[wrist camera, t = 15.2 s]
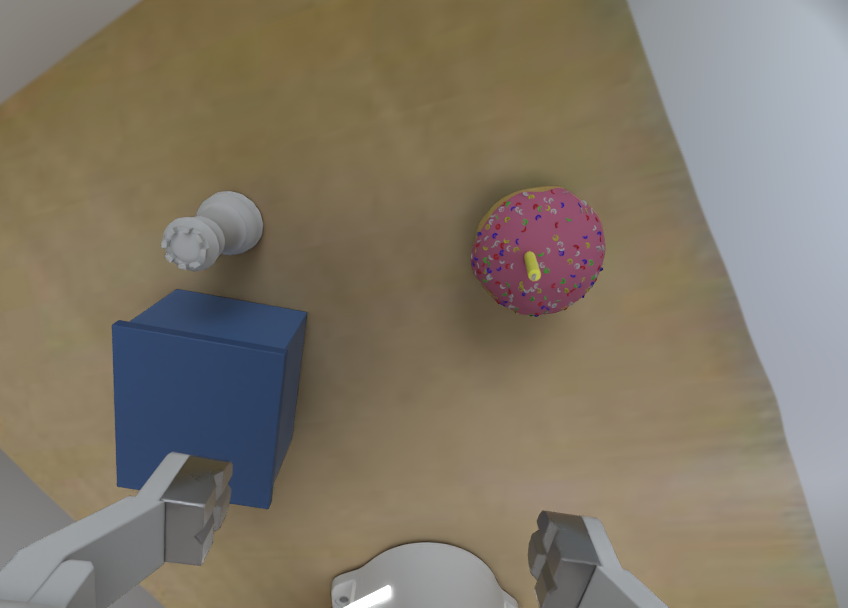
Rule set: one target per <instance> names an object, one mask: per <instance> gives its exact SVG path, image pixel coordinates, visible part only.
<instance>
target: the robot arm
mask: <svg viewBox="0 0 848 608" xmlns="http://www.w3.org/2000/svg"><path fill="white" fill-rule="evenodd" d="M232 470H233V464H232V463H231V462H229V461H224V460H218V459H212V458H207V457H201V456H196V455H188V454H182V453H177V452H171V453H169V454H168V455H167V456H166V457H165V458H164V460H163V461H162V462H161V464H160V465H159V466H158V467H157V469H156V470H155V471H154V473H153V474H152V475H151V477H150V478H149V479H148V480H147V482H146V483H145V484H144V486H143V487H142V488H141V490H140V491H139V492H138V494H137V495H136V496H135V497H131V496H128V497H126V498H124V499H122V500H120V501H118V502H116V503H114V504H112V505H110V506H108V507H106V508H104V509H102V510H99V511H97V512H95V513H93V514H91V515H89V516H87V517H85V518H83V519H81V520H79V521H77V522H75V523H73V524H71V525H69V526H67V527H65V528H63V529H61V530H59V531H57V532H55V533H53V534H50V535H49V536H46V537H45V538H42V539H40V540H38V541H36V542H34V543H32V544H30V545H28V546H26V547H24V548H22V549H20V550H19V551H18V552H17V553H16V554H15V555H14V556H13V557H12V558H11V559H10V560H9V562H8V563H7V564H6V565H5V566H4V567H3V568H2V569H1V570H0V608H107V607H108V606H110V605H111V604H112V603H114V602H115V601H116V600H117V599H119V598H120V597H121V596H123V595H124V594H125V593H127V592H128V591H129V590H131V589H132V588H133V587H134V586H136V585H137V584H138V583H140V582H141V581H142V580H144V579H145V578H146V577H148V576H149V575H150V574H151V573H153V572H154V571H155V570H157V569H158V568H159V567H161V566H162V565H163V564H164V562H171V563H180V564H189V565H198V566H201V565H202V563H203V561H204V559H205V557H206V555H207V553H208V551H209V549H210V547H211V545H212V543H213V534H214V531H216V530H218V529H219V528H220V527H221V525H222V523H223V521H224V519H225V516H226V513H227V510H228V507H229V502H230V497H231V488H230V486H229V485H228V482H229V480H230V478H231V476H232ZM537 525H538V528H539V530H538V531H536V532H535V533H533V534H532V536H531V539H530V542H529V548H528V564H529V568H530V573H531V574H532V575H533V576H534V577H535V579H536V580H537V583H536V585H535V588H534V590H535V594H536V598H537V602H538V606H539V608H669V607H668V606H667V605H666V604H665V603H663V602H662V601H661V600H660V599H659V598H658V597H657V596H656V595H655V594H654V593H652V592H651V591H650V590H649V589H648V588H647V587H646V586H645V585H644V584H643V583H641V582H640V581H639V580H638V579H637V578H636V577H635V576H634V575H633V574H632V573H630V572H629V571H628V570H623V569H622V567H621V565H620V563H619V560H618V558H617V556H616V554H615V552H614V550H613V547H612V545H611V543H610V541H609V539H608V536H607V534H606V532H605V530H604V528H603V525H602V523H601V521H600V520H599V519H598V518H594V517H587V516H580V515H579V516H577V515H571V514H564V513H557V512H550V511H542V512H541V513H540V514H539V517H538V519H537ZM331 596H332V607H333V608H519V605H518V603H517V601H516V600H515V599H514V598H513V597H511V596H510V595H509V594H507V593H506V592H505V591H503V590H502V589H501V587H500V586H499V584H498V582H497V580H496V578H495V576H494V574H493V573H492V571H491V570H490V568H489V567H488V566H487V565H486V564H485V563H484V562H483V561H482V560H480V559H479V558H478V557H476V556H475V555H473V554H471V553H470V552H468V551H465V550H463V549H461V548H458V547H455V546H451V545H447V544H441V543H431V542H422V543H412V544H406V545H402V546H398V547H395V548H392V549H390V550H387V551H385V552H383V553H381V554H380V555H378V556H376V557H375V558H374V559H372V560H371V561H370V562H368V563H367V564H366V565H365V566H363V567H361V568H360V569H358V570H354V571H351V572H347V573H344V574H342V575H339V576H337V577H336V578H334V580H333V581H332V589H331Z"/></svg>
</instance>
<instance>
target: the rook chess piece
mask: <svg viewBox="0 0 848 608" xmlns="http://www.w3.org/2000/svg"><path fill="white" fill-rule="evenodd" d="M262 229H263V222H262V218H261V214H260V212H259V210H258V209H257V207H256V206H255V205H254V203H253V202H252V201H251V200H249V199H248V198H246V197H245V196H244V195H242V194H239V193H235V192H231V191H226V192H219V193H216V194H214V195H213V196H211V197H209V198H208V199H206V200H205V201H203V202H202V204H201V206H200V207H199V209H198V211H197V213H196V217H184V218H177V219H176V220H174V221H173V222H171V223H170V224H169V225H168V226H167V228H166V230H165V231H164V237H163V239H162V245H161V248H165V250H166V253H167V255H165V258H166V259H167V260H168V261H169V263H171V262H172V261H173V262H174V263H175V264H177V265H178V268H180V269H184V270H191V271H200V270H205V269H207V268H208V267H210V266H212V265H213V264H214V262H215V261H216V259H217V257H218V256H220V254H225V255H235V254H241V253H243V252H245V251H247V250H249V249H251V248H252V247H254V246H255V245H256V244H257V242H258V241H259V239H260V238H261V236H262Z"/></svg>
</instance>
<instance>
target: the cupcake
mask: <svg viewBox="0 0 848 608" xmlns="http://www.w3.org/2000/svg"><path fill="white" fill-rule="evenodd" d="M604 255H605V239H604V234H603V226H602V222H601V219H600V217H599V215H598V214H597V212H596V211H595V210H594V209H593V208H591V207H590V206H589V205H587V204H586V201H582V200H580V199H579V198H578V197H576V196H575V195H573V194H572V193H570V192H569V191H567V190H565V189H564V188H561V187H558V186H548V187H535V188H529V189H524V190H520V191H517V192H514V193H512V194H510V195H508V196H506V197H504V198H502V199H501V200H499V201H498V202H496V203H495V204H494V205H493V206H492V207H491V209H490V210H489V211H488V212H487V214H486V215H485V216H484V217H483V218H482V219H481V221H480V223H479V225H478V228H477V231H476V235H475V240H474V245H473V248H472V251H471V265H472V270H473V273H474V275H475V276H476V278H477V279H478V280H479V281H480V282H481V284H482V285H483V287H484V288H485V290H486V291H487V292H488V293H489V294H490V295H491V296H492V297H493V299H495V301H496V302H497V303H498V304H501V305H503V306H505V307H507V308H508V309H511V310H513V311H514V312H515V313H516V312H517V313H519V314H523V315H529V316H533V315H534V316H535V317H537V316H539V315H542V314H550V313H556V312H559V311H561V310H563V309H564V310H566V309H567V308H568V307H569V306H570V305H572V304H573V303H575V302H576V301H578V300H579V299H580V298H581V297H582V298H584V295H585V294H586V293H587V292H588V291H589V289H590V288H592V287H593V284H594V282H596V280H597V276H598V274H599V272H600V271H602V270H603V268H601V266H602V263H603V259H604ZM536 315H537V316H536Z"/></svg>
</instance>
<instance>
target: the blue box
mask: <svg viewBox="0 0 848 608" xmlns="http://www.w3.org/2000/svg"><path fill="white" fill-rule="evenodd" d="M306 319H307V312H303V311H297V310H292V309H286V308H280V307H275V306H269V305H264V304H258V303H253V302H247V301H241V300H236V299H230V298H225V297H219V296H213V295H208V294H202V293H197V292H191V291H186V290H180V289H176V290H175V291H173V292H172V293H170V294H169V295H167V296H166V297H164V298H163V299H161V300H160V301H159V302H157V303H156V304H154V305H153V306H151V307H150V308H148V309H147V310H145V311H144V312H143V313H141V314H140V315H138V316H137V317H135V318H134V319H132V320H131V321H130V322H127V321H122V320H118V321H117V322H115V323H114V324H112V343H113V374H114V405H115V436H116V466H117V487H123V488H129V489H136V490H141V488H142V487H143V486H144V484H145V483H146V482H147V480H148V479H149V478H150V477H151V475H152V474H153V473H154V471H155V470H156V469H157V467H158V466H159V465H160V464H161V462H162V461H163V460H164V458H165V457H166V456H167V455H168V454H169V453H171V452H177V453H182V454H188V455H196V456H201V457H207V458H212V459H218V460H224V461H229V462H231V463H232V464H233V470H232V476H231V478H230V480H229V482H228V485H229V486H230V488H231V497H230V502H229V503H230V504H237V505H243V506H250V507H257V508H263V509H269V507H270V505H271V502H272V494H273V485H274V482H275V479H276V477H277V474H278V472H279V469H280V467H281V464H282V462H283V460H284V457H285V455H286V452H287V450H288V447H289V445H290V442H291V440H292V435H293V427H294V419H295V410H296V402H297V394H298V386H299V377H300V369H301V361H302V352H303V344H304V336H305V328H306Z"/></svg>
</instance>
